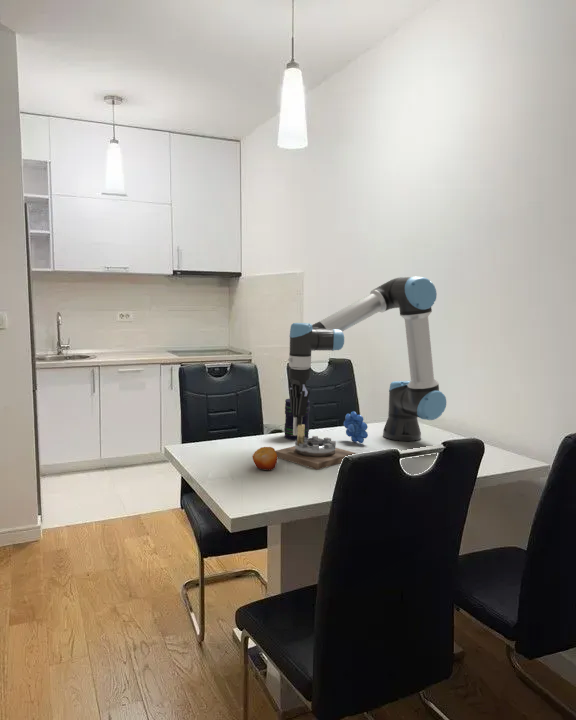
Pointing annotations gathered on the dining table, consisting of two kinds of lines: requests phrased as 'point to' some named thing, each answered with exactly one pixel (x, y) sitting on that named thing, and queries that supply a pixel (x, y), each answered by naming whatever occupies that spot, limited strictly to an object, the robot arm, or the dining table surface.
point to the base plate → (313, 458)
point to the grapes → (355, 427)
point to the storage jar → (289, 421)
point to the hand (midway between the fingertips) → (297, 434)
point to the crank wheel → (313, 444)
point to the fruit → (265, 458)
